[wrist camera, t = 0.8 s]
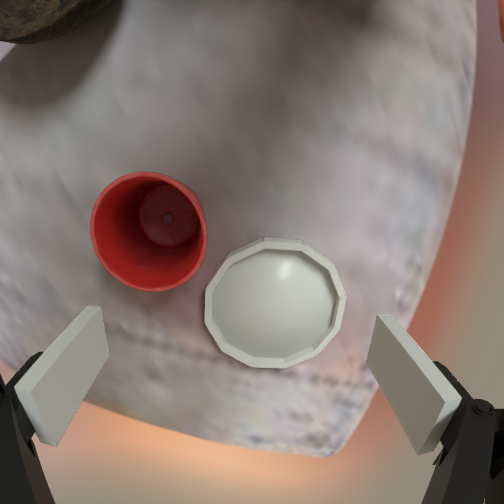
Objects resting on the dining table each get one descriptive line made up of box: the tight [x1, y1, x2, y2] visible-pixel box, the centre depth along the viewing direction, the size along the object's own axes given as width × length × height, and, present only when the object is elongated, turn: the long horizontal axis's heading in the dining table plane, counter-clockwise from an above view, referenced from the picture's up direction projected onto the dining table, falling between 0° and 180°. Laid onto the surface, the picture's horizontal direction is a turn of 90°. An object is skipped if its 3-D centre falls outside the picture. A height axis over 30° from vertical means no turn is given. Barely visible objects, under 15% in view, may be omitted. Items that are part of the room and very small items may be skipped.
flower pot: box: [90, 172, 208, 292], centre depth 31 cm, size 11×11×10 cm
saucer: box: [205, 237, 346, 368], centre depth 38 cm, size 17×17×2 cm
